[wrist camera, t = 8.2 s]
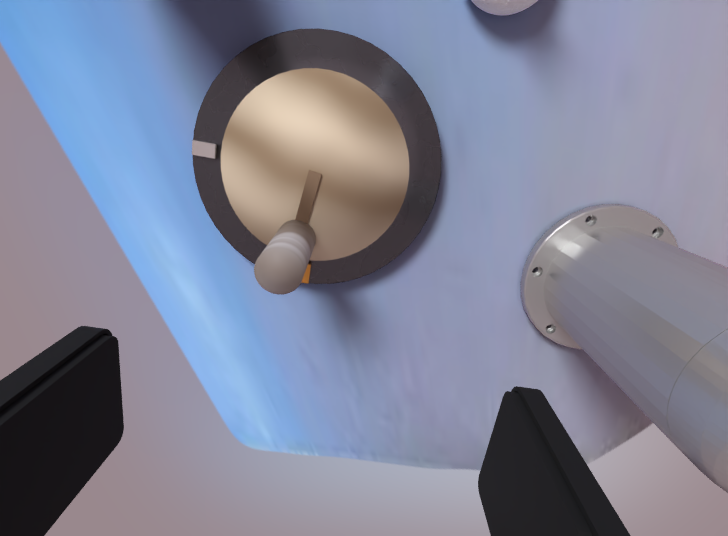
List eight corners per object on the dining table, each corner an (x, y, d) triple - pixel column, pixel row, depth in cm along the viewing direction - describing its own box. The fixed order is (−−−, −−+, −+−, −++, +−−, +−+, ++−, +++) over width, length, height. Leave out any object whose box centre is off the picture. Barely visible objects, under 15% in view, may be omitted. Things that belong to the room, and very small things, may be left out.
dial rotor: (249, 42, 27) (202, 10, 19) (433, 107, 29) (462, 103, 21) (211, 225, 31) (160, 262, 23) (373, 274, 33) (378, 325, 25)
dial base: (464, 60, 29) (470, 57, 27) (410, 292, 35) (412, 301, 33) (205, 8, 28) (195, 1, 26) (195, 258, 34) (187, 265, 32)
